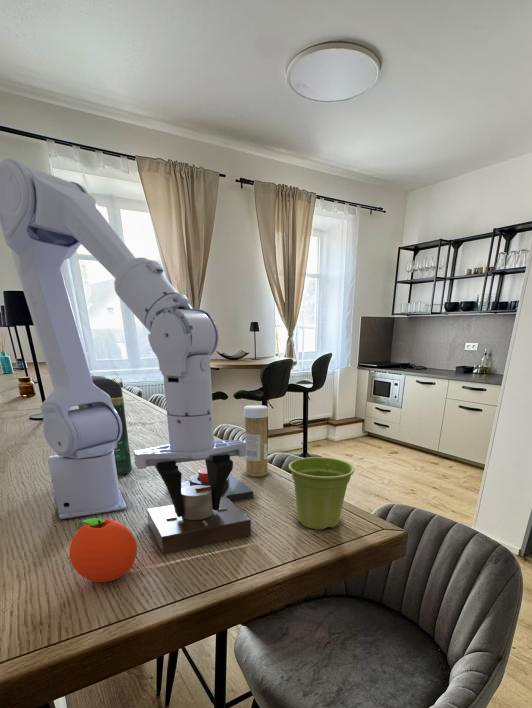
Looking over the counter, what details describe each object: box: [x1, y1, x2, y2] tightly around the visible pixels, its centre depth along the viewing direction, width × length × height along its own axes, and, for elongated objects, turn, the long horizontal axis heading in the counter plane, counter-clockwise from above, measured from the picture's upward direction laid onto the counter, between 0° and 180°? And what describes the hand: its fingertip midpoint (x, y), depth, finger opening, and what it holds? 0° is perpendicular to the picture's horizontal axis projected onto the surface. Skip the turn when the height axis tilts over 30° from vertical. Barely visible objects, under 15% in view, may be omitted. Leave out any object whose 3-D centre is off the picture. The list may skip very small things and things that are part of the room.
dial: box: [181, 485, 213, 520], centre depth 57 cm, size 4×4×4 cm
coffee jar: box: [77, 375, 133, 477], centre depth 80 cm, size 10×8×19 cm
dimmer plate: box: [146, 496, 252, 555], centre depth 58 cm, size 12×10×3 cm
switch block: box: [181, 473, 254, 503], centre depth 71 cm, size 12×10×3 cm
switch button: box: [197, 467, 208, 482], centre depth 70 cm, size 4×4×2 cm
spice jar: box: [243, 404, 269, 478], centre depth 80 cm, size 5×5×13 cm
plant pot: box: [288, 456, 356, 530], centre depth 60 cm, size 9×9×9 cm
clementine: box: [68, 517, 138, 583], centre depth 46 cm, size 8×7×7 cm
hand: (196, 510), depth 57 cm, fingers closed on dial, 4 cm apart
